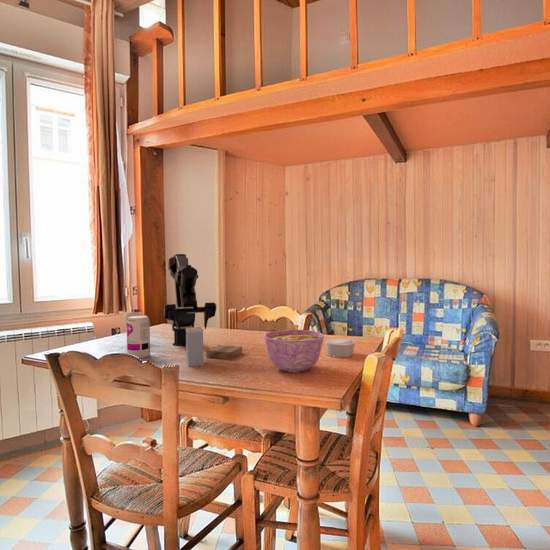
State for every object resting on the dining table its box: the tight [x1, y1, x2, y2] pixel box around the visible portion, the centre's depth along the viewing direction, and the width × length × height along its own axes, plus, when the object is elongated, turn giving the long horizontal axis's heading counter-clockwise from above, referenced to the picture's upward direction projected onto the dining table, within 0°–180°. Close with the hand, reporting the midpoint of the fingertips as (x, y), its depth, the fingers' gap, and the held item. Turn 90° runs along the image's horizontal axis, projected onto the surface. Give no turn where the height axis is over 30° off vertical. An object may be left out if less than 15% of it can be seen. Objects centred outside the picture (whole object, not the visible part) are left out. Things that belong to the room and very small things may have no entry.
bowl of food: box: [263, 329, 325, 373], centre depth 149 cm, size 20×20×12 cm
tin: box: [185, 326, 205, 367], centre depth 157 cm, size 5×5×12 cm
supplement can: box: [126, 314, 151, 359], centre depth 169 cm, size 8×8×15 cm
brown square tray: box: [205, 344, 243, 360], centre depth 170 cm, size 10×10×3 cm
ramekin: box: [324, 338, 356, 358], centre depth 169 cm, size 11×11×5 cm
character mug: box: [124, 311, 143, 329], centre depth 192 cm, size 11×7×13 cm, turn 43°
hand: (192, 329), depth 160 cm, fingers open, 9 cm apart
